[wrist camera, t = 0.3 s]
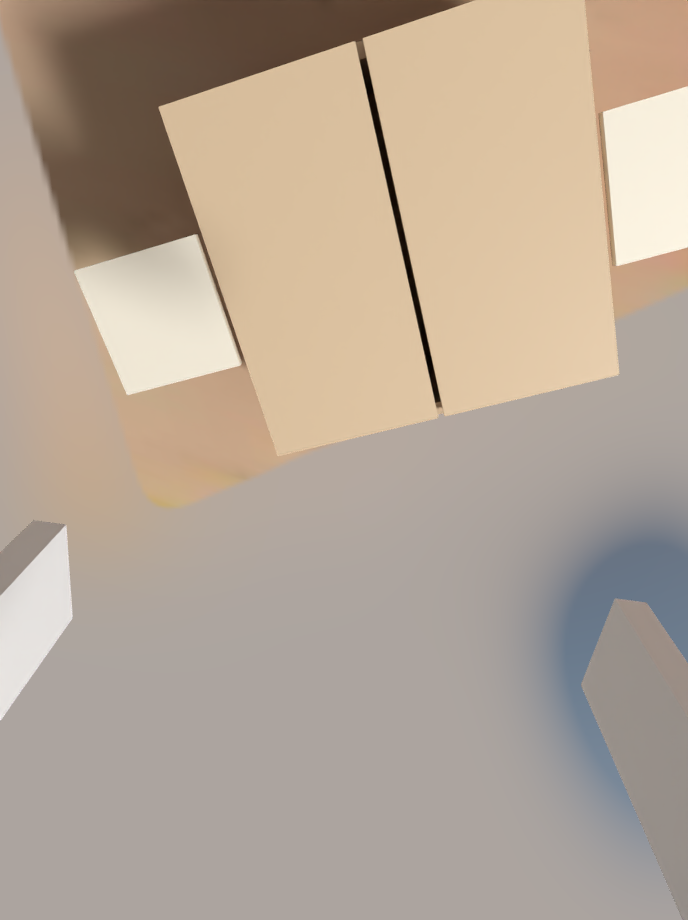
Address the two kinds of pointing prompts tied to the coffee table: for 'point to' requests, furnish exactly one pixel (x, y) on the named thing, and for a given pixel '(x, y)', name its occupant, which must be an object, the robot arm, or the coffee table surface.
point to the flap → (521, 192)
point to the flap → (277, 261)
